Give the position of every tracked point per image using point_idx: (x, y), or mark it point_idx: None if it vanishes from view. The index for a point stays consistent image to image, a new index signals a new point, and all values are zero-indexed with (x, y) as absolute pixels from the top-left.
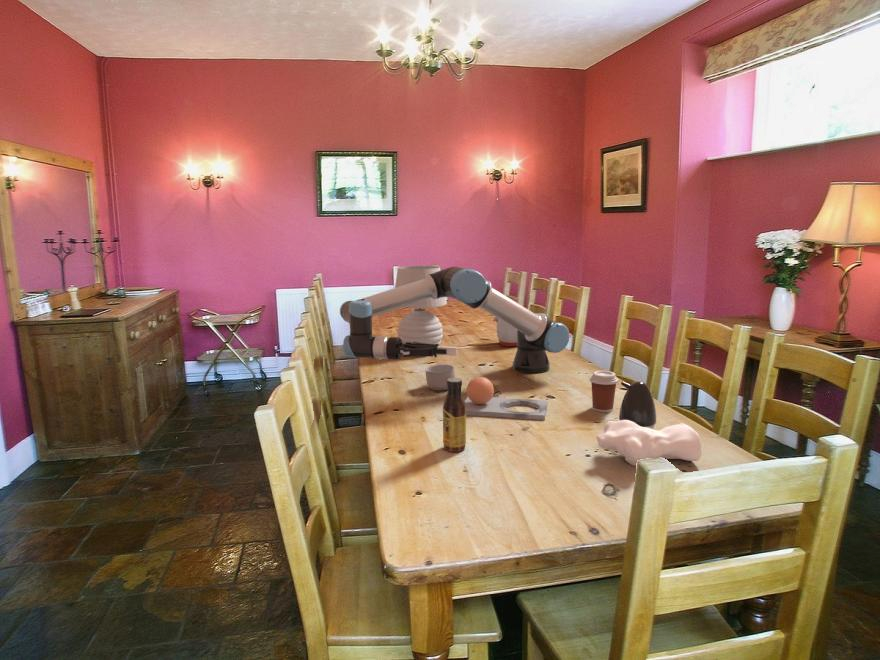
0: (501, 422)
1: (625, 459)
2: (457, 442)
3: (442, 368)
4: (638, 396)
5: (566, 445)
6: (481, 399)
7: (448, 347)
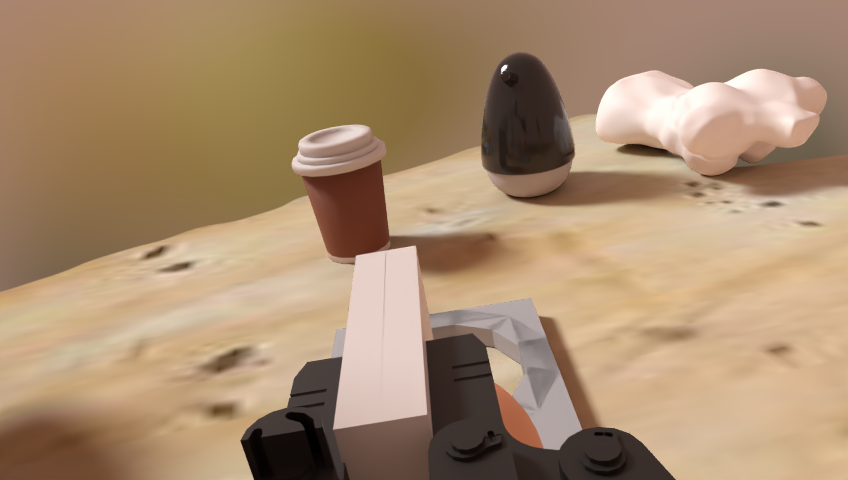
0: (652, 413)
1: (770, 151)
2: None
3: None
4: (553, 79)
5: (738, 238)
6: None
7: (417, 298)
